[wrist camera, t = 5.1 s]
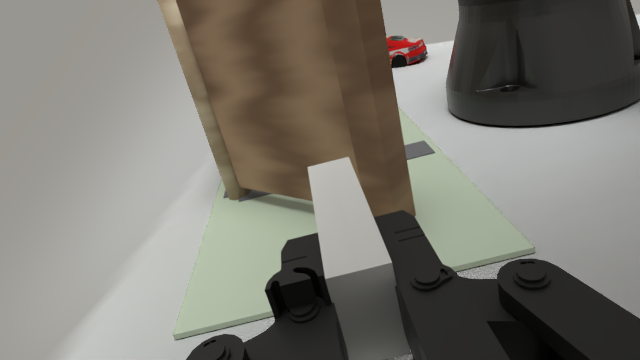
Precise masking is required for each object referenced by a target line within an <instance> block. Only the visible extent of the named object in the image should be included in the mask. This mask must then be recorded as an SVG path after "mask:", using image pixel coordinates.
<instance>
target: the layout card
mask: <svg viewBox="0 0 640 360" xmlns="http://www.w3.org/2000/svg"><path fill="white" fill-rule="evenodd" d="M398 110H399V116H400V122H401V128H402V134H403V140H404V146H405V152H406V158H407V164H408V170H409V176H410V182H411V188H412V194H413V200H414V206H415V212H416V216H415V218H416V220H417V222H418V223H419V225H420V227H421V228H422V230H423V232H424V233H425V236H426V237H427V238H428V240H429V242H430V244H431V245H432V247H433V249H434V250H435V252H436V254H437V255H438V257H439V259H440V260H441V262H442V264H444V265H446V266H448V267H451V268H452V269H453V270H454V271H455V272H456V271H461V270H465V269H469V268H473V267H477V266H481V265H485V264H489V263H493V262H498V261H502V260H506V259H510V258H514V257H518V256H522V255H526V254H531V253H535V247H534V246H533V245H532V244H531V243H530V242H529V241H528V240H527V239H526V238H525V237H524V235H523V234H522V233H521V232H520V231H519V230H518V229H517V228H516V227H515V226H514V225H513V224H512V223H511V222H510V221H509V220H508V219H507V218H506V217H505V216H504V215H503V214H502V213H501V212H500V211H499V210H498V209H497V208H496V207H495V206H494V205H493V204H492V202H491V201H490V200H489V199H488V198H487V197H486V196H485V195H484V194H483V193H482V192H481V191H480V190H479V189H478V188H477V187H476V186H475V185H474V184H473V183H472V182H471V181H470V180H469V179H468V178H467V177H466V176H465V175H464V174H463V173H462V172H461V171H460V170H459V168H458V167H457V166H456V165H455V164H454V163H453V162H452V161H451V160H450V159H449V158H448V157H447V156H446V155H445V154H444V153H443V152H442V151H441V150H440V149H439V148H438V147H437V146H436V145H435V144H434V143H433V142H432V141H431V140H430V139H429V138H428V137H427V136H426V134H425V133H424V132H423V131H422V130H421V129H420V128H419V127H418V126H417V125H416V124H415V123H414V122H413V121H412V120H411V119H410V118H409V117H408V116H407V115H406V114H405V113H404V112H403V111H402V110H401V109H400V108H399V107H398ZM317 232H318V231H317V224H316V218H315V212H314V205H313V201H309V200H304V199H299V198H294V197H288V196H283V195H278V194H273V193H268V192H263V191H258V190H253V189H252V191H251V192H250V193H249V194H248V195H246V196H244V197H242V198H239V200H230V199H229V197H228V194H227V192H226V189H225V186H224V183H223V181H222V179H221V182H220V186H219V189H218V192H217V195H216V198H215V201H214V205H213V208H212V211H211V214H210V217H209V221H208V224H207V227H206V230H205V233H204V237H203V240H202V243H201V246H200V249H199V252H198V256H197V259H196V262H195V265H194V268H193V272H192V275H191V278H190V281H189V284H188V288H187V291H186V294H185V297H184V300H183V303H182V307H181V310H180V313H179V316H178V319H177V323H176V326H175V329H174V332H173V337H174V339H175V340H176V339H180V338H185V337H189V336H193V335H197V334H201V333H205V332H209V331H213V330H218V329H222V328H226V327H230V326H234V325H238V324H242V323H246V322H250V321H255V320H259V319H263V318H267V317H271V316H274V315H273V312H272V309H271V307H270V304H269V301H268V298H267V295H266V293H265V287H266V284H267V282H268V281H269V279H270V278H271V277H272V276H273V275H274V274H276V273H277V272H279V271H280V270H281V250H282V249H283V247H284V245H285V244H286V242H287V240H290V239H294V238H298V237H302V236H306V235H310V234H314V233H317Z"/></svg>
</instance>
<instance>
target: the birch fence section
mask: <svg viewBox="0 0 640 360" xmlns="http://www.w3.org/2000/svg"><path fill="white" fill-rule="evenodd" d="M157 1H158V3H159V6H160V9H161V12H162V14H163V17H164V20H165V23H166V25H167V28H168V31H169V34H170V36H171V39H172V42H173V45H174V48H175V50H176V53H177V56H178V59H179V61H180V64H181V67H182V70H183V73H184V75H185V78H186V81H187V84H188V86H189V89H190V92H191V94H192V97H193V100H194V103H195V106H196V108H197V111H198V114H199V117H200V119H201V122H202V125H203V128H204V131H205V133H206V136H207V139H208V142H209V145H210V147H211V150H212V153H213V156H214V158H215V161H216V164H217V167H218V169H219V172H220V175H221V178H222V181H223V183H224V186H225V189H226V192H227V194H228V197H229V199H230V200H239V198H242V197H244V196H246V195H248V194H249V193H250V192H251V191H252V189H248V188H242V187H240V185H239V182H238V180H237V177H236V174H235V171H234V168H233V165H232V162H231V159H230V156H229V153H228V151H227V148H226V145H225V142H224V139H223V136H222V133H221V130H220V127H219V125H218V122H217V119H216V116H215V113H214V110H213V107H212V104H211V101H210V98H209V96H208V93H207V90H206V87H205V84H204V81H203V78H202V75H201V72H200V69H199V67H198V64H197V61H196V58H195V55H194V52H193V49H192V46H191V43H190V41H189V38H188V35H187V32H186V29H185V26H184V23H183V20H182V17H181V14H180V12H179V9H178V6H177V3H176V0H157Z"/></svg>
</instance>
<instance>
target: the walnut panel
mask: <svg viewBox="0 0 640 360" xmlns="http://www.w3.org/2000/svg"><path fill="white" fill-rule="evenodd" d="M176 3H177V6H178V9H179V12H180V14H181V17H182V20H183V23H184V26H185V29H186V32H187V35H188V38H189V41H190V43H191V46H192V49H193V52H194V55H195V58H196V61H197V64H198V67H199V69H200V72H201V75H202V78H203V81H204V84H205V87H206V90H207V93H208V96H209V98H210V101H211V104H212V107H213V110H214V113H215V116H216V119H217V122H218V125H219V127H220V130H221V133H222V136H223V139H224V142H225V145H226V148H227V151H228V153H229V156H230V159H231V162H232V165H233V168H234V171H235V174H236V177H237V180H238V182H239V185H240V187H242V188H248V189H253V190H258V191H263V192H268V193H273V194H278V195H283V196H288V197H294V198H299V199H304V200H309V201H313V199H312V193H311V186H310V180H309V174H308V168H307V167H310V166H314V165H318V164H322V163H326V162H330V161H333V160H337V159H341V158H345V157H349V159H350V161H351V164H352V166H353V169H354V171H355V173H356V176H357V178H358V181H359V183H360V186H361V188H362V191H363V193H364V195H365V198H366V200H367V203H368V205H369V208H370V210H371V212H372V215H373V217H376V216H380V215H384V214H388V213H392V212H396V211H400V210H404V211H406V212H407V213H409V214H411V215H413V216H414V217H415V216H416V212H415V206H414V200H413V194H412V188H411V182H410V176H409V170H408V164H407V158H406V152H405V146H404V140H403V134H402V128H401V122H400V116H399V110H398V104H397V98H396V92H395V86H394V80H393V74H392V68H391V62H390V56H389V50H388V44H387V38H386V33H385V26H384V20H383V14H382V8H381V2H380V0H176Z"/></svg>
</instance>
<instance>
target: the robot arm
mask: <svg viewBox="0 0 640 360" xmlns="http://www.w3.org/2000/svg"><path fill="white" fill-rule="evenodd" d="M458 3H459V22H458V27H457V31H456V36H455V41H454V46H453V51H452V55H451V60H450V65H449V70H448V75H447V80H446V93H447V101H448V108H449V110H450V112H451V113H453V114H454V115H455V116H457V117H459V118H462V119H465V120H468V121H472V122H477V123H483V124H491V125H509V126H522V125H542V124H552V123H561V122H568V121H574V120H579V119H584V118H589V117H593V116H597V115H601V114H605V113H608V112H611V111H614V110H617V109H620V108H622V107H625V106H627V105H629V104H631V103H633V102H635V101H636V100H638V99H639V98H640V29H639V25H638V23H637V20H636V17H635V14H634V11H633V8H632V5H631V2H630V0H458ZM307 168H308V174H309V180H310V186H311V193H312V199H313V205H314V212H315V218H316V224H317V231H318V232H317V233H314V234H310V235H306V236H302V237H298V238H294V239H290V240H287V242H286V244H285V245H284V247H283V249H282V250H281V270H280V271H279V272H277V273H276V274H274V275H273V276H272V277H271V278H270V279H269V281H268V282H267V284H266V287H265V293H266V295H267V298H268V301H269V304H270V307H271V309H272V312H273V315H274V318H275V322H274V324H273V325H272V326H271V327H269V328H268V329H267V330H266V331H264V332H263V333H261V334H260V335H258V336H256V337H254V338H252V339H250V340H248V341H246V342H244V343H243V341H242V339H240V338H239V337H237V336H235V335H229V334H223V335H218V336H214V337H212V338H210V339H208V340H206V341H204V342H202V343H201V344H200V345H198V346H197V347H196V348H195V349H194V350H193V351H192V352H191V354H190V355H189V356H188V358H187V359H186V360H386V359H390V358H395V357H399V356H403V355H407V354H411V353H410V350H411V352H412V355H413V360H640V319H639V318H638V317H636V316H635V315H633V314H631V313H630V312H628V311H627V310H625V309H624V308H622V307H620V306H619V305H617V304H616V303H614V302H613V301H611V300H610V299H608V298H606V297H605V296H603V295H602V294H600V293H599V292H597V291H595V290H594V289H592V288H591V287H589V286H588V285H586V284H584V283H583V282H581V281H580V280H578V279H577V278H575V277H573V276H572V275H570V274H569V273H567V272H566V271H564V270H562V269H561V268H559V267H558V266H556V265H554V264H551V263H549V262H547V261H543V260H538V259H519V260H515V261H512V262H509V263H507V264H506V265H504V266H503V267H501V268H500V270H499V272H498V274H497V279H468V278H464V277H460V276H458V275H457V273H456V272H455V271H454V270H453V269H452V268H451V267H448V266H446V265H444V264H442V262H441V260H440V259H439V257H438V255H437V254H436V252H435V250H434V249H433V247H432V245H431V244H430V242H429V240H428V238H427V237H426V236H425V233H424V232H423V230H422V228H421V227H420V225H419V223H418V222H417V220H416V218H415V217H414V216H413V215H411V214H409V213H407V212H406V211H404V210H400V211H396V212H392V213H388V214H384V215H380V216H376V217H373V215H372V212H371V210H370V208H369V205H368V203H367V200H366V198H365V195H364V193H363V191H362V188H361V186H360V183H359V181H358V178H357V176H356V173H355V171H354V169H353V166H352V164H351V161H350V159H349V157H345V158H341V159H337V160H333V161H330V162H326V163H322V164H318V165H314V166H310V167H307ZM409 347H410V348H409Z"/></svg>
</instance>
